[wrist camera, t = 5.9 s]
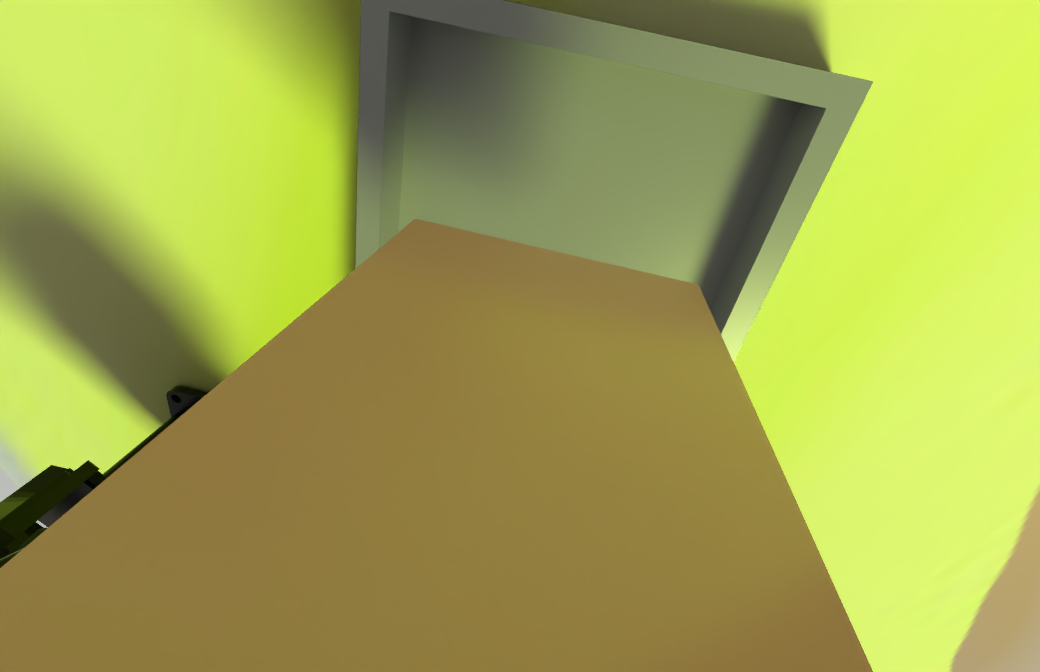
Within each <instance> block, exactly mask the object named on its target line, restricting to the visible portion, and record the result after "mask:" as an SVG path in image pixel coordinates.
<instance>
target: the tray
mask: <svg viewBox="0 0 1040 672" xmlns="http://www.w3.org/2000/svg"><path fill="white" fill-rule="evenodd" d="M872 83H873V81H869V80H864V79H860V78H855V77H850V76H846V75H841V74H837V73H832V72H828V71H823V70H819V69H814V68H810V67H805V66H800V65H796V64H791V63H787V62H782V61H778V60H773V59H769V58H764V57H760V56H755V55H751V54H746V53H741V52H737V51H732V50H728V49H723V48H719V47H714V46H710V45H705V44H701V43H696V42H691V41H687V40H682V39H678V38H673V37H669V36H664V35H660V34H655V33H651V32H646V31H642V30H637V29H632V28H628V27H623V26H619V25H614V24H610V23H605V22H601V21H596V20H592V19H587V18H582V17H578V16H573V15H569V14H564V13H560V12H555V11H551V10H546V9H542V8H537V7H533V6H528V5H523V4H519V3H514V2H510V1H505V0H361V25H360V73H359V120H358V168H357V216H356V264H355V269H356V268H357V267H358V266H359V265H361V264H362V263H363V262H364V261H365V260H367V259H368V258H369V257H370V256H371V255H372V254H374V253H375V252H376V251H377V250H378V249H380V248H381V247H382V246H383V245H384V244H386V243H387V242H388V241H389V240H390V239H391V238H393V237H394V236H395V235H396V234H397V233H399V232H400V231H401V230H402V229H403V228H405V227H406V226H407V225H408V224H409V223H410V222H412V221H413V220H414V219H419V220H424V221H428V222H432V223H436V224H441V225H445V226H449V227H454V228H458V229H462V230H467V231H471V232H475V233H479V234H484V235H488V236H492V237H497V238H501V239H505V240H509V241H514V242H518V243H522V244H527V245H531V246H535V247H539V248H544V249H548V250H552V251H557V252H561V253H565V254H569V255H574V256H578V257H582V258H587V259H591V260H595V261H599V262H604V263H608V264H612V265H617V266H621V267H625V268H630V269H634V270H638V271H642V272H647V273H651V274H655V275H660V276H664V277H668V278H672V279H677V280H681V281H685V282H690V283H694V284H698V285H699V287H700V289H701V291H702V294H703V296H704V298H705V300H706V302H707V305H708V307H709V309H710V311H711V313H712V316H713V318H714V320H715V322H716V325H717V327H718V329H719V331H720V333H721V336H722V338H723V340H724V342H725V345H726V347H727V349H728V351H729V353H730V356H731V358H732V360H733V362H734V360H735V358H736V356H737V354H738V352H739V350H740V348H741V346H742V344H743V342H744V340H745V338H746V336H747V334H748V332H749V330H750V328H751V326H752V324H753V322H754V320H755V318H756V316H757V314H758V312H759V310H760V308H761V306H762V304H763V302H764V300H765V298H766V296H767V294H768V292H769V290H770V288H771V286H772V284H773V282H774V280H775V278H776V276H777V274H778V272H779V270H780V268H781V266H782V264H783V262H784V260H785V258H786V256H787V254H788V252H789V250H790V248H791V246H792V244H793V242H794V240H795V237H796V235H797V233H798V231H799V229H800V227H801V225H802V223H803V221H804V219H805V217H806V215H807V213H808V211H809V209H810V207H811V205H812V203H813V201H814V199H815V197H816V195H817V193H818V191H819V189H820V187H821V185H822V183H823V181H824V179H825V177H826V175H827V173H828V171H829V169H830V167H831V165H832V163H833V161H834V159H835V157H836V155H837V153H838V151H839V149H840V147H841V145H842V143H843V141H844V139H845V137H846V135H847V133H848V131H849V129H850V127H851V125H852V123H853V121H854V119H855V117H856V115H857V113H858V111H859V109H860V107H861V105H862V103H863V101H864V99H865V97H866V95H867V93H868V91H869V89H870V87H871V85H872Z"/></svg>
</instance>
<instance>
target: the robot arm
mask: <svg viewBox="0 0 1040 672" xmlns="http://www.w3.org/2000/svg"><path fill="white" fill-rule="evenodd" d="M206 394H208V393H205V392H201V391H197V390H193V389H189V388H185V387H181V386H175V387H173V388H172V389H171V390H170V391H168V392H167V400H168V405H169V409H170V414H171V418H170V419H169V420H168V421H167V422H165V423H164V424H163V425H162V426H161V427H159V428H158V429H157V430H156V431H155V432H153V433H152V434H151V435H150V436H149V437H147V438H146V439H145V440H144V441H142V442H141V443H140V444H139V445H138V446H136V447H135V448H134V449H133V450H132V451H130V452H129V453H128V454H127V455H126V456H124V457H123V458H122V459H121V460H120V461H118V462H117V463H116V464H115V465H113V466H112V467H111V468H110V469H109V470H107V471H106V472H105V473H104V474H101V473H100V472H99V471H98V470H99V468H98V467H97V466H95V465H94V464H93V463H91V462H90V461H89V460H88V461H87V462H85V463H84V464H83V465H82V466H80V467H79V468H78V469H76V470H75V471H73V470H72V469H70V468H69V469H66V468H62V467H57V466H53V465H51V466H50V467H48V468H47V469H46V470H44V471H43V472H42V473H40V474H39V475H37V476H36V477H35V478H33V479H32V480H31V481H29V482H28V483H27V484H25V485H24V486H22V487H21V488H20V489H18V490H17V491H16V492H14V493H13V494H12V495H10V496H9V497H7V498H6V499H4V500H3V501H2V502H0V568H1V567H2V566H4V565H5V564H6V563H7V562H8V561H9V560H11V559H12V558H13V557H14V556H15V555H17V554H18V553H19V552H20V551H21V550H23V549H24V548H25V547H26V546H27V545H28V544H30V543H31V542H32V541H33V540H34V539H36V538H37V537H38V536H39V535H40V534H42V533H43V532H44V531H45V530H46V529H47V528H43V527H42V526H40V525H39V524H37V523H36V521H37V520H39V521H40V522H41V523H43V524H44V525H46V526H47V527H48V528H49V527H50V526H51V525H52V524H53V523H55V522H56V521H57V520H58V519H59V518H61V517H62V516H63V515H64V514H65V513H66V512H68V511H69V510H70V509H71V508H72V507H74V506H75V505H76V504H77V503H78V502H79V501H81V500H82V499H83V498H84V497H85V496H87V495H88V494H89V493H90V492H91V491H93V490H94V489H95V488H96V487H97V486H98V485H100V484H101V483H102V482H103V481H104V480H106V479H107V478H108V477H109V476H110V475H112V474H113V473H114V472H115V471H116V470H117V469H119V468H120V467H121V466H122V465H123V464H125V463H126V462H127V461H128V460H129V459H130V458H132V457H133V456H134V455H135V454H136V453H138V452H139V451H140V450H141V449H142V448H144V447H145V446H146V445H147V444H148V443H149V442H151V441H152V440H153V439H154V438H155V437H157V436H158V435H159V434H160V433H161V432H163V431H164V430H165V429H166V428H167V427H168V426H170V425H171V424H172V423H173V422H174V421H176V420H177V419H178V418H179V417H180V416H181V415H183V414H184V413H185V412H186V411H187V410H189V409H190V408H191V407H192V406H193V405H195V404H196V403H197V402H198V401H199V400H200V399H202V398H203V397H204V396H205V395H206Z"/></svg>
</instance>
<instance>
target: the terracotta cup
mask: <svg viewBox="0 0 1040 672" xmlns="http://www.w3.org/2000/svg"><path fill="white" fill-rule="evenodd" d="M0 672H873V671H872V669H871V666H870V664H869V662H868V660H867V658H866V655H865V653H864V651H863V649H862V646H861V644H860V642H859V640H858V638H857V635H856V633H855V631H854V629H853V626H852V624H851V622H850V620H849V618H848V615H847V613H846V611H845V609H844V607H843V604H842V602H841V600H840V598H839V595H838V593H837V591H836V589H835V587H834V584H833V582H832V580H831V578H830V575H829V573H828V571H827V569H826V567H825V564H824V562H823V560H822V558H821V555H820V553H819V551H818V549H817V547H816V544H815V542H814V540H813V538H812V535H811V533H810V531H809V529H808V527H807V524H806V522H805V520H804V518H803V516H802V513H801V511H800V509H799V507H798V504H797V502H796V500H795V498H794V496H793V493H792V491H791V489H790V487H789V484H788V482H787V480H786V478H785V476H784V473H783V471H782V469H781V467H780V464H779V462H778V460H777V458H776V456H775V453H774V451H773V449H772V447H771V444H770V442H769V440H768V438H767V436H766V433H765V431H764V429H763V427H762V424H761V422H760V420H759V418H758V416H757V413H756V411H755V409H754V407H753V405H752V402H751V400H750V398H749V396H748V393H747V391H746V389H745V387H744V385H743V382H742V380H741V378H740V376H739V373H738V371H737V369H736V367H735V365H734V362H733V360H732V358H731V356H730V353H729V351H728V349H727V347H726V345H725V342H724V340H723V338H722V336H721V333H720V331H719V329H718V327H717V325H716V322H715V320H714V318H713V316H712V313H711V311H710V309H709V307H708V305H707V302H706V300H705V298H704V296H703V294H702V291H701V289H700V287H699V285H698V284H694V283H690V282H685V281H681V280H677V279H672V278H668V277H664V276H660V275H655V274H651V273H647V272H642V271H638V270H634V269H630V268H625V267H621V266H617V265H612V264H608V263H604V262H599V261H595V260H591V259H587V258H582V257H578V256H574V255H569V254H565V253H561V252H557V251H552V250H548V249H544V248H539V247H535V246H531V245H527V244H522V243H518V242H514V241H509V240H505V239H501V238H497V237H492V236H488V235H484V234H479V233H475V232H471V231H467V230H462V229H458V228H454V227H449V226H445V225H441V224H436V223H432V222H428V221H424V220H419V219H414V220H413V221H412V222H410V223H409V224H408V225H407V226H406V227H405V228H403V229H402V230H401V231H400V232H399V233H397V234H396V235H395V236H394V237H393V238H391V239H390V240H389V241H388V242H387V243H386V244H384V245H383V246H382V247H381V248H380V249H378V250H377V251H376V252H375V253H374V254H372V255H371V256H370V257H369V258H368V259H367V260H365V261H364V262H363V263H362V264H361V265H359V266H358V267H357V268H356V269H355V270H353V271H352V272H351V273H350V274H349V275H348V276H346V277H345V278H344V279H343V280H342V281H340V282H339V283H338V284H337V285H336V286H335V287H333V288H332V289H331V290H330V291H329V292H327V293H326V294H325V295H324V296H323V297H321V298H320V299H319V300H318V301H317V302H316V303H314V304H313V305H312V306H311V307H310V308H308V309H307V310H306V311H305V312H304V313H302V314H301V315H300V316H299V317H298V318H297V319H295V320H294V321H293V322H292V323H291V324H289V325H288V326H287V327H286V328H285V329H284V330H282V331H281V332H280V333H279V334H278V335H276V336H275V337H274V338H273V339H272V340H270V341H269V342H268V343H267V344H266V345H265V346H263V347H262V348H261V349H260V350H259V351H257V352H256V353H255V354H254V355H253V356H251V357H250V358H249V359H248V360H247V361H246V362H244V363H243V364H242V365H241V366H240V367H238V368H237V369H236V370H235V371H234V372H233V373H231V374H230V375H229V376H228V377H227V378H225V379H224V380H223V381H222V382H221V383H219V384H218V385H217V386H216V387H215V388H214V389H212V390H211V391H210V392H209V393H208V394H206V395H205V396H204V397H203V398H202V399H200V400H199V401H198V402H197V403H196V404H195V405H193V406H192V407H191V408H190V409H189V410H187V411H186V412H185V413H184V414H183V415H181V416H180V417H179V418H178V419H177V420H176V421H174V422H173V423H172V424H171V425H170V426H168V427H167V428H166V429H165V430H164V431H163V432H161V433H160V434H159V435H158V436H157V437H155V438H154V439H153V440H152V441H151V442H149V443H148V444H147V445H146V446H145V447H144V448H142V449H141V450H140V451H139V452H138V453H136V454H135V455H134V456H133V457H132V458H130V459H129V460H128V461H127V462H126V463H125V464H123V465H122V466H121V467H120V468H119V469H117V470H116V471H115V472H114V473H113V474H112V475H110V476H109V477H108V478H107V479H106V480H104V481H103V482H102V483H101V484H100V485H98V486H97V487H96V488H95V489H94V490H93V491H91V492H90V493H89V494H88V495H87V496H85V497H84V498H83V499H82V500H81V501H79V502H78V503H77V504H76V505H75V506H74V507H72V508H71V509H70V510H69V511H68V512H66V513H65V514H64V515H63V516H62V517H61V518H59V519H58V520H57V521H56V522H55V523H53V524H52V525H51V526H50V527H49V528H47V529H46V530H45V531H44V532H43V533H42V534H40V535H39V536H38V537H37V538H36V539H34V540H33V541H32V542H31V543H30V544H28V545H27V546H26V547H25V548H24V549H23V550H21V551H20V552H19V553H18V554H17V555H15V556H14V557H13V558H12V559H11V560H9V561H8V562H7V563H6V564H5V565H4V566H2V567H1V568H0Z"/></svg>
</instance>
